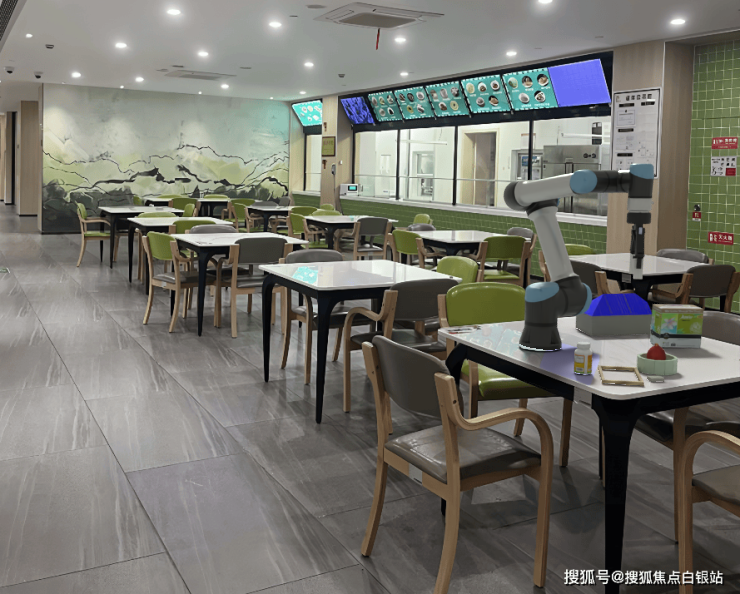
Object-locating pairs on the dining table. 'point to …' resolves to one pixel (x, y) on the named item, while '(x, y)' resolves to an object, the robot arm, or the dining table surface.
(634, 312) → the house
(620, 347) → the dining table surface
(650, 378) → the stone
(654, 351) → the onion
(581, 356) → the supplement bottle
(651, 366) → the bowl
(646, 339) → the dining table surface
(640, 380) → the picture frame
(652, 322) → the tea box
